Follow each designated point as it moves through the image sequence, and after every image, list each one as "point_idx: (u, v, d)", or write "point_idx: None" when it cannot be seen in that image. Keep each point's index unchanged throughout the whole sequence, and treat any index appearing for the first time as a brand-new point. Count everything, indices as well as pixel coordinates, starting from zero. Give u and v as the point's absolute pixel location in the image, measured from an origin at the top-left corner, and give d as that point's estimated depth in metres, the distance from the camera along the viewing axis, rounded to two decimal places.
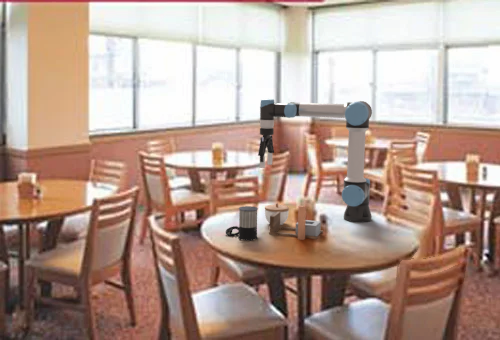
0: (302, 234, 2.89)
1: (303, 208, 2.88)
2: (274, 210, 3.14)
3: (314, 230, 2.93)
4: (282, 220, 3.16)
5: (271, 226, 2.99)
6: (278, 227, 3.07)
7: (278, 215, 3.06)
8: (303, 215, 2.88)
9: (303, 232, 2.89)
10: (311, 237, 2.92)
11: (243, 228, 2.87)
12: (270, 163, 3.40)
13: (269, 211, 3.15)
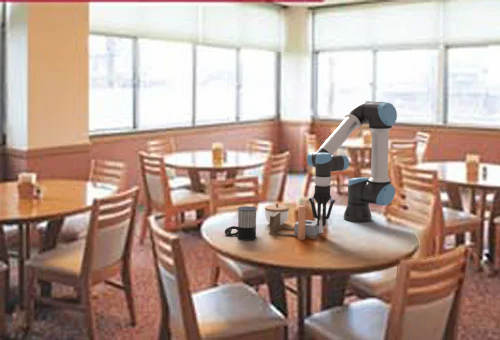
0: (302, 234, 2.89)
1: (303, 208, 2.88)
2: (274, 210, 3.14)
3: (313, 230, 2.93)
4: (282, 220, 3.16)
5: (271, 226, 2.99)
6: (278, 227, 3.07)
7: (278, 215, 3.06)
8: (303, 215, 2.88)
9: (303, 232, 2.89)
10: (311, 237, 2.92)
11: (242, 228, 2.87)
12: None
13: (269, 211, 3.15)
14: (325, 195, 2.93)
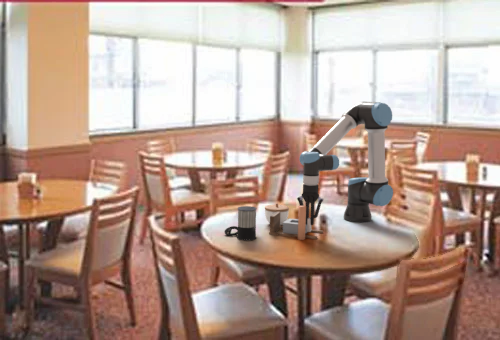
0: (302, 234, 2.89)
1: (303, 208, 2.88)
2: (274, 210, 3.14)
3: None
4: (282, 220, 3.16)
5: (271, 226, 2.99)
6: (278, 227, 3.07)
7: (278, 215, 3.06)
8: (303, 215, 2.88)
9: (303, 232, 2.89)
10: (311, 237, 2.92)
11: (242, 228, 2.87)
12: None
13: (269, 211, 3.15)
14: (313, 194, 2.95)
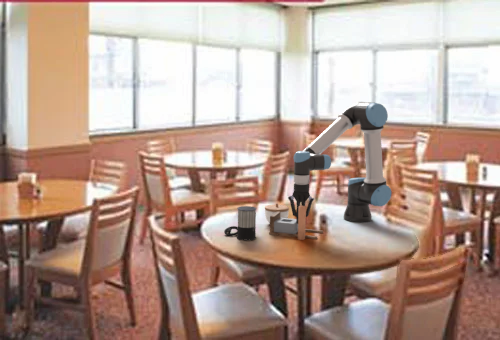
0: (302, 234, 2.89)
1: (303, 208, 2.87)
2: (274, 210, 3.14)
3: (292, 228, 2.96)
4: None
5: (271, 226, 2.99)
6: None
7: (278, 215, 3.06)
8: (303, 215, 2.88)
9: (303, 232, 2.89)
10: (311, 237, 2.92)
11: (242, 228, 2.87)
12: None
13: (269, 211, 3.15)
14: (304, 193, 2.96)
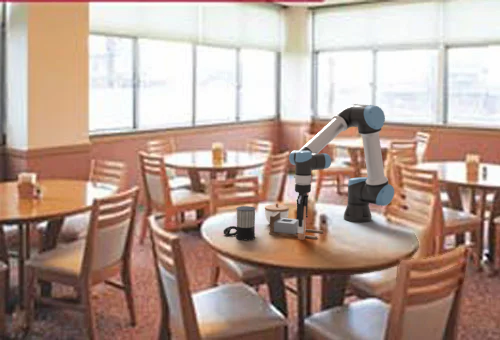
0: (302, 234, 2.89)
1: None
2: (274, 210, 3.14)
3: (292, 228, 2.96)
4: None
5: (271, 226, 2.99)
6: None
7: (278, 215, 3.06)
8: (303, 215, 2.88)
9: (303, 232, 2.89)
10: (311, 237, 2.92)
11: (241, 228, 2.87)
12: None
13: (269, 211, 3.15)
14: (305, 193, 2.89)
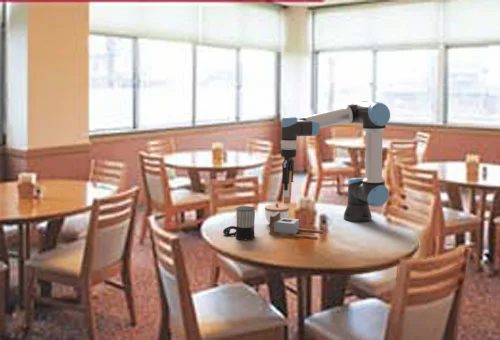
0: (288, 198, 2.99)
1: None
2: (274, 210, 3.14)
3: (292, 228, 2.96)
4: None
5: (271, 226, 2.99)
6: None
7: (278, 215, 3.06)
8: (289, 179, 2.97)
9: (289, 196, 2.99)
10: (311, 237, 2.92)
11: (240, 228, 2.87)
12: None
13: (269, 211, 3.15)
14: (291, 158, 2.99)
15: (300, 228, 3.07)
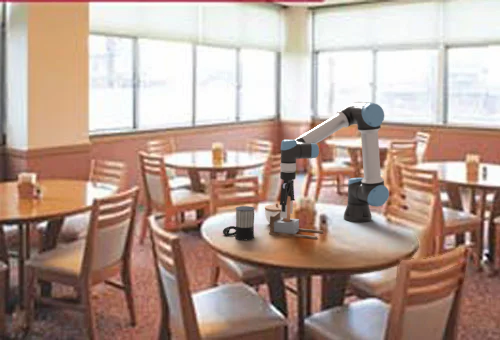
0: None
1: (288, 198, 2.98)
2: (274, 210, 3.14)
3: (292, 228, 2.96)
4: None
5: (271, 226, 2.99)
6: None
7: (278, 215, 3.06)
8: (288, 205, 2.99)
9: (288, 221, 3.01)
10: (311, 237, 2.92)
11: (240, 228, 2.87)
12: (290, 212, 3.06)
13: (269, 211, 3.15)
14: (290, 182, 3.00)
15: (300, 228, 3.07)
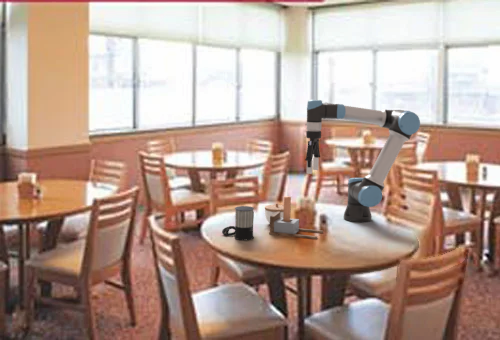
0: None
1: (288, 198, 2.99)
2: (274, 210, 3.14)
3: (292, 228, 2.96)
4: None
5: (271, 226, 2.99)
6: None
7: (278, 215, 3.06)
8: (288, 205, 2.99)
9: (288, 221, 3.01)
10: (311, 237, 2.92)
11: (239, 228, 2.87)
12: (316, 168, 3.19)
13: (269, 211, 3.15)
14: (316, 141, 3.12)
15: (300, 228, 3.07)
